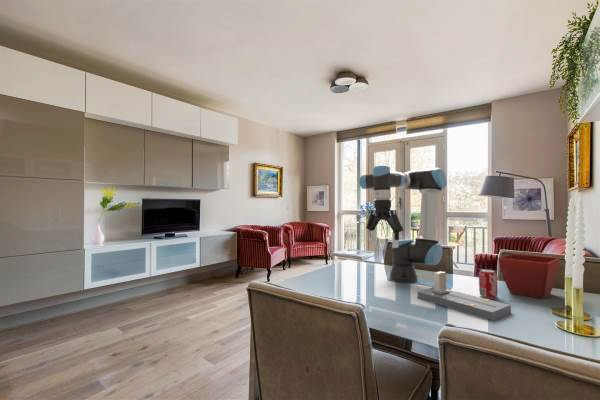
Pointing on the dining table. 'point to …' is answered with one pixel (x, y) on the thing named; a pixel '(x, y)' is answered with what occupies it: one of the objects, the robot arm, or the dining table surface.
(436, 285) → the block
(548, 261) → the plant pot
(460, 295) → the fader console
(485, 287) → the soda can
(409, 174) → the robot arm
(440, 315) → the dining table surface
